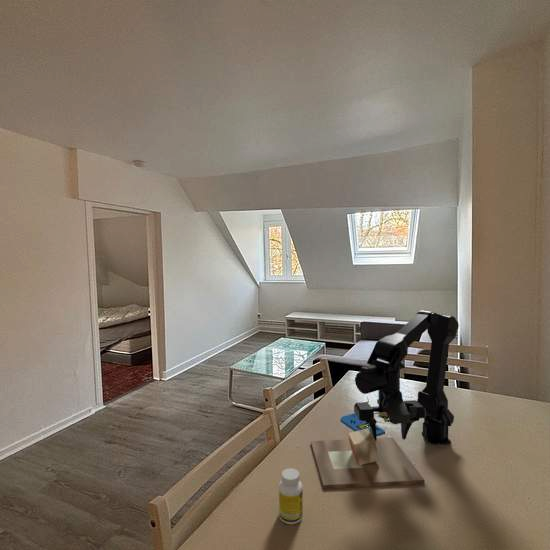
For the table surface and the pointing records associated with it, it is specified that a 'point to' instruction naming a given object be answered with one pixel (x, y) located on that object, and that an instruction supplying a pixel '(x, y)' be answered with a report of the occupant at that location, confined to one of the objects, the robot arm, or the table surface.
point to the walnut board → (346, 473)
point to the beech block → (363, 446)
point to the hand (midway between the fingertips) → (389, 439)
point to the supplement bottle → (290, 497)
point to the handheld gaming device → (359, 424)
